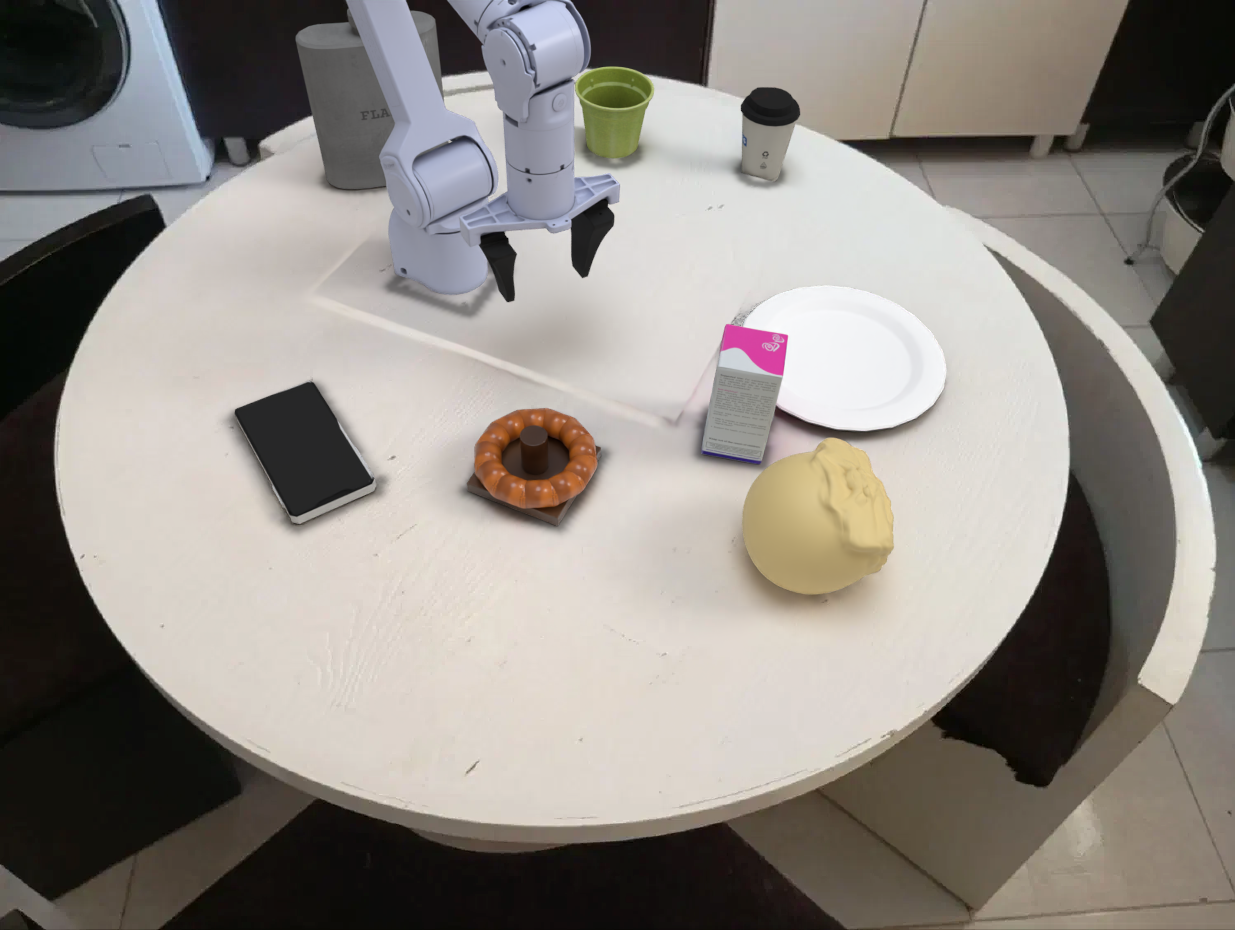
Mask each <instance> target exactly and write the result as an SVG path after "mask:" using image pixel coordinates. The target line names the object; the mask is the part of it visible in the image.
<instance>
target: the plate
mask: <svg viewBox="0 0 1235 930" xmlns="http://www.w3.org/2000/svg"><path fill="white" fill-rule="evenodd" d="M741 327H746V328H751V329H757V330H762V331H769V332H775V333H781V334H786V335H788V342H787V350H786V358H785V365H784V374H783V379H782V383H781V387H780V391H779V395H778V399H777V403H776V407H775V408H777V409H778V410H780V411H782V412H783V413H786V414H788V415H789V416H792V417H794V418H796V419H798V420H800V421H802V422H805V423H807V424H810V425H814V426H819V427H821V428H826V429H829V430H833V431H842V432H857V433H868V432H869V433H870V432H874V431H875V432H876V431H882V430H890V429H894V428H896V427H900V426H902V425H905V424H907V423H909V422H913V421H915V420H916V419H918V418H919V417H921V416H922V415H923V414H925V412H927V411H928V410H929V409H931V408H932V407H933V406H934V405H935V404H936V402H937V400H938V398H939V397H940V395H941V394H942V392H943V390H944V389H945V383H946V377H947V372H948V368H947V363H946V359H945V354H944V351H943V349H942V346H941V345H940V344H939V342H938V340H937V338H936V336H935V334H934V333H933V332H932V331H931V330H930V329H929V327H927V325H926V324H924V322H923V321H921V319H919V318H918V316H916V315H915V314H914V313H912V312H910V311H909V310H907V309H906V308H904V307H903V306H901V305H899V303H896V302H895V301H892V300H890V299H888V298H885V297H883V296H880V295H878V294H875V293H874V292H872V291H871V292H870V291H866V290H862V289H857V288H853V287H849V286H842V285H841V286H840V285H827V284H826V285H823V284H820V285H819V284H818V285H810V286H803V287H795V288H792V289H789V290H786V291H783V292H780V293H776V294H774V295H772V296H771V297H769V298H768V299H766V300H764V301H762V302H761V303H759V304H757V305H756V306H755V307H754V309H753V310H752V311H751V312H750V313H749V314H748V315H747V317H746V318H745V319H744V320H743V323H742V325H741Z"/></svg>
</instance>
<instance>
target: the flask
mask: <svg viewBox="0 0 1235 930" xmlns="http://www.w3.org/2000/svg"><path fill="white" fill-rule="evenodd" d="M410 13H411V16H412V18H413V21H414V24H415V26H416V29H417V32H418V34H419V37H420V40H421V42H422V45H423V48H424V50H425V53H426V56H427V58H428V61H429V64H430V66H431V69H432V72H433V74H434V77H435V80H436V82H437V85H438V88H439V91H440V93H441V96H442V99H443V101H444V102H445V96H444V87H443V78H442V69H441V61H440V51H439V42H438V31H437V23H436V18H434V17H433V15H432V14H429V13H426V12H423V11H418V10H410ZM346 14H347V20H348V21H345V22H333V23H321V24H320V23H317V24H313V25H309V26H307V27H305V28H303V29H301V30H299V31H298V32H297V34H296V35H295V43H296V49H297V53H298V57H299V62H300V66H301V71H302V75H303V80H304V84H305V89H306V92H307V97H308V101H309V106H310V110H311V115H312V120H313V124H314V129H315V132H316V133H315V134H316V137H317V142H318V146H319V151H320V156H321V159H322V164H323V169H324V173H325V178H326V181H327V182H328V183H329V184H330V185H331V186H333V187H336V188H338V189H342V190H364V189H374V188H379V187H380V188H381V187H386V179H385V175H384V171H383V168H382V165H381V161H380V159H379V155H380V153H381V151H382V149H383V147H384V145H385V143H386V141H387V140H388V138H389V136H390V134H391V132H392V130H393V128H394V125H395V122H394V119H393V117H392V114H391V112H390V109H389V107H388V104H387V102H386V99H385V97H384V94H383V92H382V89H381V87H380V84H379V82H378V79H377V77H376V74H375V72H374V69H373V67H372V64H371V62H370V59H369V57H368V54H367V52H366V49H365V47H364V44H363V42H362V39H361V37H360V34H359V32H358V29H357V27H356V24H355V22H354V19H353V17H352V14H351V12H350V9H349V7H348V8H347V10H346ZM449 141H450V140H449ZM449 141H446V142H444V143H442V144H440V145H437V146H435V147H433V148H431V149H428V150H426V151H424V152H421V153H420V154H419V155H417V156H416V157H418V156H420V155H423V154H425V153H427V152H429V151H432V150H434V149H436V148H439V147H441V146H443V145H445V144H448V143H450V142H449ZM416 157H415V158H416Z"/></svg>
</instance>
